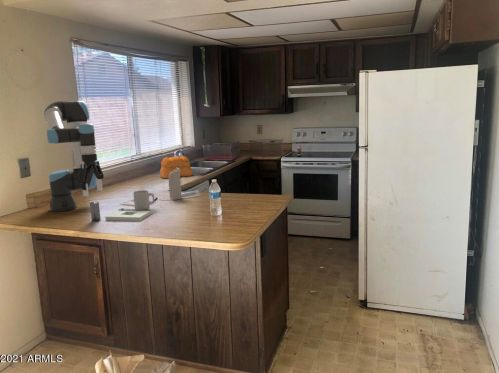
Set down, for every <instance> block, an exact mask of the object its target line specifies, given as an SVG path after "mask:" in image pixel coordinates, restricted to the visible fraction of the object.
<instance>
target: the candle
mask: <svg viewBox="0 0 499 373" xmlns="http://www.w3.org/2000/svg"><path fill="white" fill-rule="evenodd" d="M181 183H182V182H181V177H180V169H179V168H176V170H173V172H171V173H170V174H169V178H168V189H169V192H168V193H169V197H165V198H160V199H159V200H160V201H173V200H176V201H177V200H181V199H182V197H183V196H182V186H181V185H182V184H181Z"/></svg>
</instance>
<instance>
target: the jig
mask: <svg viewBox="0 0 499 373" xmlns="http://www.w3.org/2000/svg"><path fill="white" fill-rule="evenodd" d="M151 215H153V209H152V208H150V209H135V208H123V207H122V208H119V209H117V210H116V211H114V212H112V213H110V214H108V215H106V216H105V218H104V219H105V221H114V222H115V221H123V222H125V221H127V222H141V221H143V220H144V219H146V218H148V217H149V216H151Z"/></svg>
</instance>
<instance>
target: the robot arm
mask: <svg viewBox="0 0 499 373" xmlns="http://www.w3.org/2000/svg"><path fill="white" fill-rule="evenodd" d="M43 116H44V119H45V121H46V122H47V124H48V129H47V130H46V138H47V142H48V144H55V145H56V144H64V143H66V144H67V143H72V152H73V158H74V166H73V168H72V171H70V169H60V170H56V171H53V172H51V173H50V174H48V175H49V176H48V178H49V180H48V182H49V188H50V195H51V198H50V203H49V211H50V212H57V213H58V212H66V211H67V212H68V211H72V210H75V209H77V208H78V207H77V202H76V201H75V198H74V196H73V191H82V195H83V197H89V195H90V194H89V189H94V188H95V187H96V190H97V192H103V191H104V189H103V182H102V181H103V179H104V177H105V176H104V173H103V171H102V167H101V166H100V161H99V160H98V155H97V146H96V137H95V127H94V124H93V123H88V121H89V120H90V112H89V108H88V105H87V103H86V102H85V101H84V100H64V101H63V100H61V101H55V102H52V103H50V104H49V105H47V106H46V108H45V109H44V111H43ZM63 121H64V122H66V124H67V125H68V126H69V127H67V128H65V125H64V123H63Z"/></svg>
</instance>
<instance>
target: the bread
mask: <svg viewBox="0 0 499 373" xmlns="http://www.w3.org/2000/svg"><path fill="white" fill-rule="evenodd" d="M190 163H191V162H190V159H189V158H188V157H187V156H185V155H181V156H176V155H175V156H170V157H164V158H162V160H161V162H160V165H161V168H160V170H159V176H160V178H162V179H169V174H170V173H171V172H173V170H176V168H179V169H180V178H183V177H185V178H186V177H190V176H193V168H192V166H191V164H190Z"/></svg>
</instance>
